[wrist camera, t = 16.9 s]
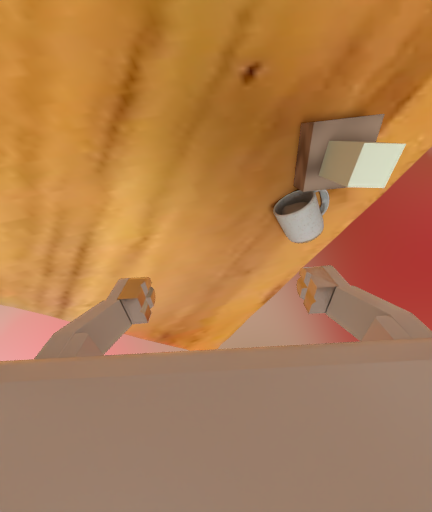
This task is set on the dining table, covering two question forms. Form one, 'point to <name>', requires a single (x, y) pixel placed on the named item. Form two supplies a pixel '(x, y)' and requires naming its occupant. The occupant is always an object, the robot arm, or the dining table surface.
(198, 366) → the robot arm
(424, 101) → the dining table surface
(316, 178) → the walnut block
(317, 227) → the ceramic mug
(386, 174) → the sage block
